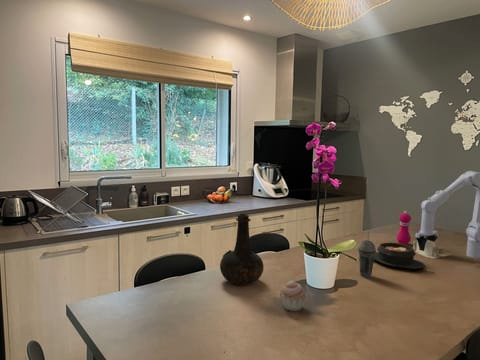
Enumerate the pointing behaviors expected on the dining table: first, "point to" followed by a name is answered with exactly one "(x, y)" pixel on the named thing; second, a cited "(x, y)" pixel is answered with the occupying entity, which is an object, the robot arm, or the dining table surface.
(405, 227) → the pepper mill
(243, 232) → the glass bottle
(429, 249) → the white upright panel
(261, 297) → the dining table surface
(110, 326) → the dining table surface
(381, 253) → the casserole
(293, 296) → the cupcake
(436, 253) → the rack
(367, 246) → the beverage cup
